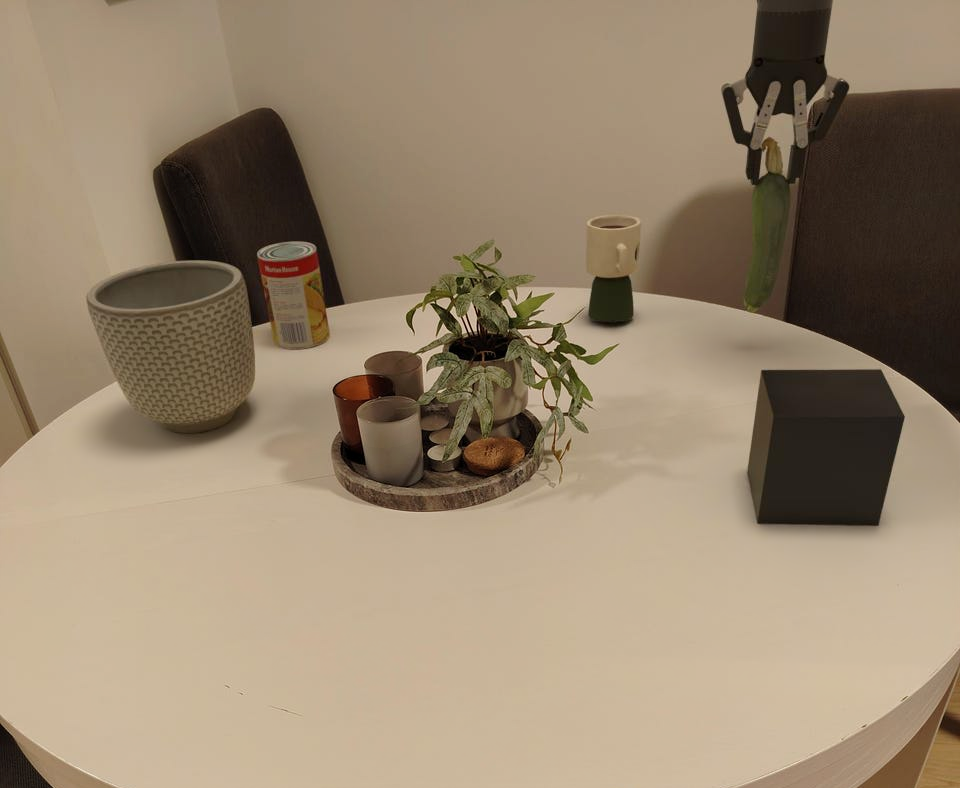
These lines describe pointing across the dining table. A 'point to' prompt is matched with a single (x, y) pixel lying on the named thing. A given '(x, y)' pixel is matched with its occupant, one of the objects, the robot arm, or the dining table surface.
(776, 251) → the vegetable
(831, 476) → the matte black cube
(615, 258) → the character mug
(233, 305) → the planter
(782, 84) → the robot arm
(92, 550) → the dining table surface
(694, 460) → the dining table surface
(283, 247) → the canned food
